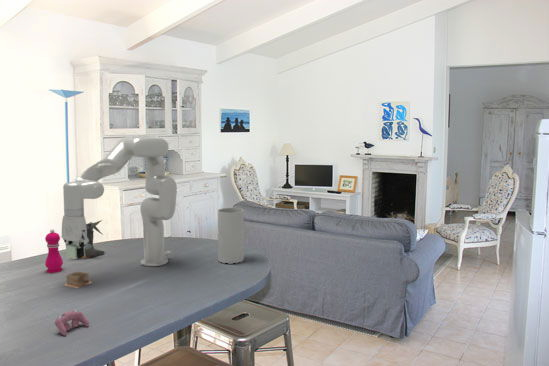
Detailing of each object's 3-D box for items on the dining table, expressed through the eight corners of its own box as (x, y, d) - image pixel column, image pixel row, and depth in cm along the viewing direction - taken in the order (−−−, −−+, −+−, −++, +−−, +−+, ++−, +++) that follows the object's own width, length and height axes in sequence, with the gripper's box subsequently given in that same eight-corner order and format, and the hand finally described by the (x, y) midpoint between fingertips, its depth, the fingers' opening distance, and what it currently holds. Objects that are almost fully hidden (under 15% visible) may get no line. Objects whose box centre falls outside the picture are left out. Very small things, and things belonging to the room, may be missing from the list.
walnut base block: (78, 280, 212) (78, 271, 211) (88, 282, 209) (88, 273, 209) (67, 284, 207) (66, 275, 206) (77, 286, 204) (76, 277, 203)
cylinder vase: (248, 261, 243) (248, 211, 240) (225, 265, 236) (225, 213, 233) (235, 255, 253) (235, 206, 250) (213, 259, 247) (213, 209, 243)
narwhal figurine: (67, 256, 249) (65, 221, 247) (97, 251, 260) (96, 217, 257) (78, 263, 239) (77, 226, 236) (109, 257, 249) (108, 221, 247)
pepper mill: (56, 275, 221) (54, 231, 218) (42, 274, 222) (39, 230, 219) (66, 270, 228) (64, 227, 225) (52, 269, 229) (50, 227, 226)
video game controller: (83, 328, 172) (77, 308, 173) (91, 325, 169) (84, 305, 170) (57, 338, 164) (50, 318, 165) (64, 335, 161) (57, 315, 162)
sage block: (76, 254, 209) (75, 242, 208) (84, 256, 207) (84, 244, 206) (66, 257, 205) (65, 245, 204) (74, 259, 202) (74, 247, 202)
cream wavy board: (84, 273, 224) (84, 271, 224) (108, 279, 217) (108, 276, 217) (51, 285, 209) (51, 282, 209) (77, 291, 202) (76, 288, 202)
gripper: (51, 211, 204) (53, 255, 206) (81, 216, 196) (82, 261, 199) (67, 209, 211) (68, 251, 213) (96, 213, 203) (97, 257, 205)
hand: (75, 255), depth 206 cm, fingers closed on sage block, 5 cm apart
